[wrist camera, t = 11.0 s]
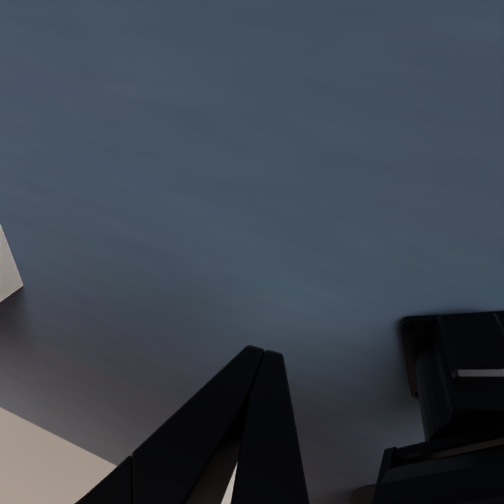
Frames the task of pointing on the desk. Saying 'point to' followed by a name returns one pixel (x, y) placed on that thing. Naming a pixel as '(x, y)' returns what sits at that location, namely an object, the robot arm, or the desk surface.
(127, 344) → the desk surface
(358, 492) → the travel mug
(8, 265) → the white cardboard box
